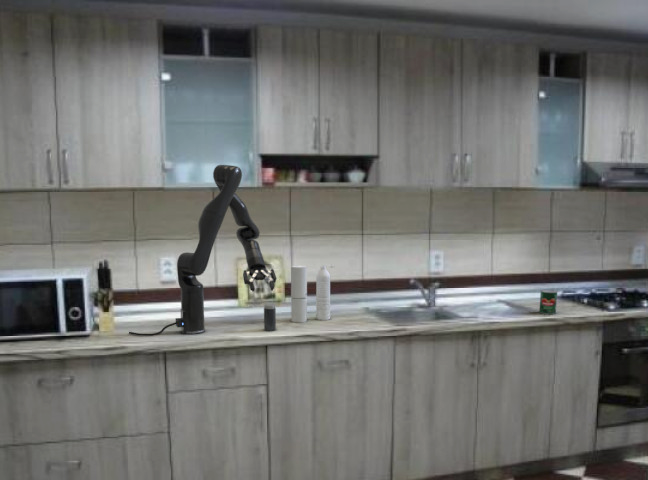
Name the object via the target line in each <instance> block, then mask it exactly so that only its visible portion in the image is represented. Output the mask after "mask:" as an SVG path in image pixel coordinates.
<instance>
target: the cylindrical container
mask: <svg viewBox="0 0 648 480" xmlns="http://www.w3.org/2000/svg"><path fill="white" fill-rule="evenodd" d="M290 296H291V297H290V317H291V318H290V321H291V322H293V323H305V322H307V321H308V266H307V265H291V266H290Z"/></svg>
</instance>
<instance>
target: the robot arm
mask: <svg viewBox="0 0 648 480" xmlns="http://www.w3.org/2000/svg"><path fill="white" fill-rule="evenodd" d="M212 178H213V181H214V183H215V185H216V187H217V188H218V190H219V193H217V195H216V196H215V197H214V198H212V199H211V200H210V201H209V202H207V204H206V205H205V206H204V208H203V209H202V211H201V214H200V216H199V218H198V222H197V230H198V243H197V245H196V248H195V250H194V252H186V251H185V252H182V253H181V254H180V255H179V256H178V258H177V262H176V273H177V281H178V282H177V283H178V286H179V289H180V305H181V306H180V317H176V318H175V322H173V323H169V324H167V325H165V326H164V327H163V328H162V329H161V330H159V331H158V332H155V333H138V332H133V331H129V332H128V334H129V335H134V336H141V337H142V336H146V337H147V336H157V335H160V334H162V333H163V332H164V331H165V330H166V329H167V328H170V327H173V326H176V328H180V331H181V333H182V334H183V335H186V334H188V335H196V334H197V335H198V334H202V333H204V332H206V328H205V327H206V325H205V300H204V299H205V298H204V297H205V295H204V284H203V283H202V282H201V281H199V280H198V278H197V277H198V276H201V275H203V274H204V273H205V271H206V269H207V267H208V264H209V261H210V259H211V258H210V257H211V254H212V250H213V247H214V244H215V241H216V239H217V236H218V234H219V231H220V229H221V227H222V225H223V221H224V220H225V217H226V214H227V211H228V209H230V212H231V214H232V217H233V219H234V222H235V224H236V225H237V226H239V228H237V230H236V233H235V235H236V238H237V239H238V242H240V244H241V246H242V248H243V250H244V254H245V260H246V265H247V268H248V271H247V270H246V269H244V270H243V273H242V278H243V283H244V284H245V285H248V286H249V289H250V291H251V292H255V284H254V282H255V281H264V282H267V283H268V286H269V289H270V291H272V292H273V291H274V289H275V283H276V281H277V279H278V278H277V276H276V271H275V270H274V269H273V268H271V269H269V270H267V265H266V263H265V259H264V256H263V254H262V251H261V248H260V244H259V242H258V241H257V239H258V238H259V237H260V235H261V233H260V229H259V227H258V226H257V225H256V223H255V222H254V221H253V220H252V218H251V216H250V213H249V211H248V210H249V209H248V208H247V205H246V204H245V202H244V201H243V200H242V199H241V197H239V196H238V195H237V193H236V192H237V190H238V188H239V187H240V185H241V182H242V179H243V172H242V169H241V168H240V167H239V166H237V165H231V164H218V165H216V166H215V167H214V169H213V172H212ZM249 276H250V277H251V278H250V279H249Z"/></svg>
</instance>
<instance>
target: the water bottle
mask: <svg viewBox="0 0 648 480" xmlns="http://www.w3.org/2000/svg"><path fill="white" fill-rule="evenodd" d="M328 268H335V264H329V265H328ZM315 279H316V280H315V284H316V289H315V292H316V295H315V296H316V298H315V308H316V311H315V313H316V314H315V319H316V320H317V321H318V320H319V321H328V320H330V319H331V275H330V273H329V271H328V270H327V265H320V269H319V271H317V273H316V277H315Z"/></svg>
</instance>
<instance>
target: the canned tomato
mask: <svg viewBox="0 0 648 480" xmlns="http://www.w3.org/2000/svg"><path fill="white" fill-rule="evenodd" d="M539 298H540V299H539V308H538V309H539V311H538V313H539V314H542V315H556V314H557V305H558V304H557V303H558V290H554V289H542V290H540V297H539Z"/></svg>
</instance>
